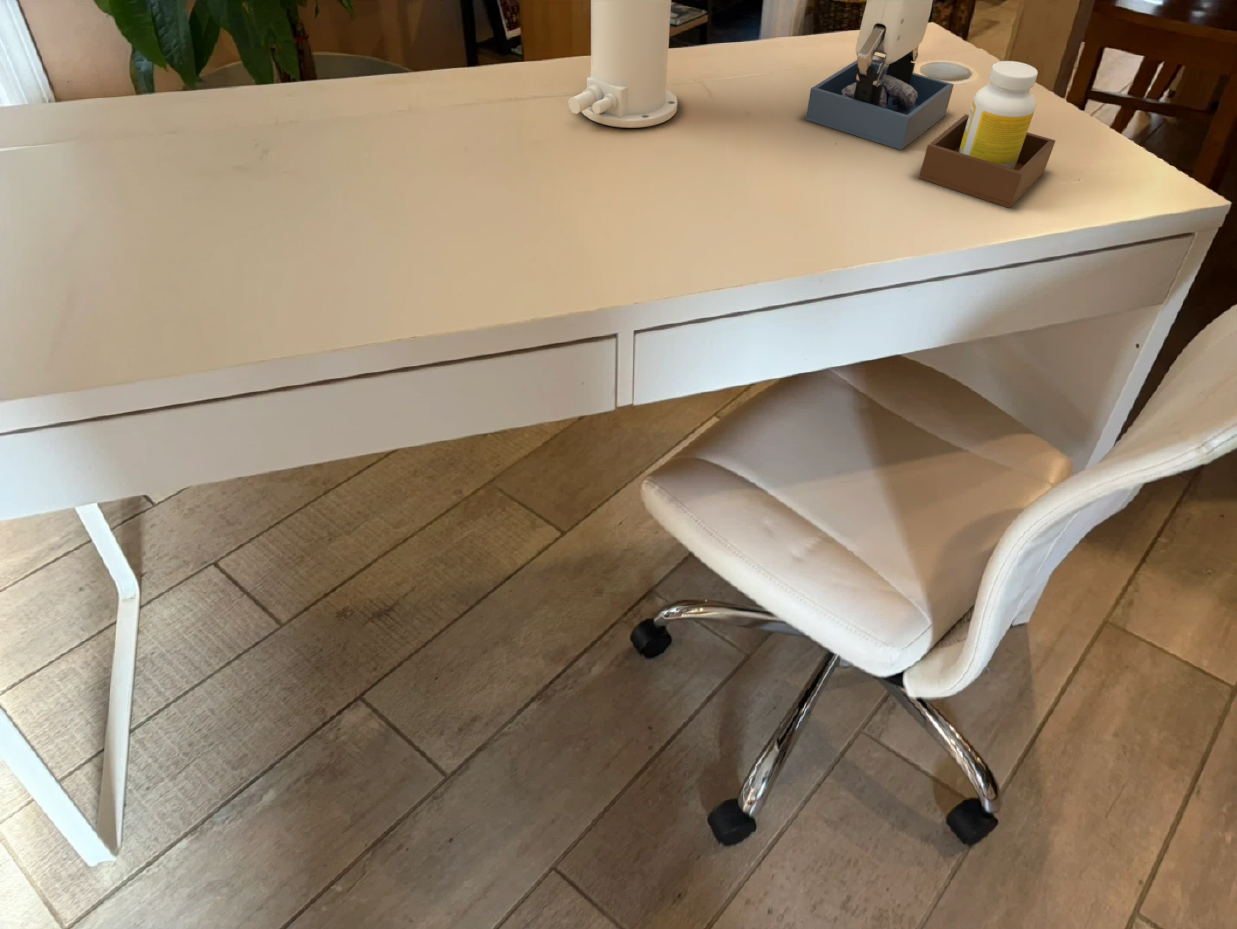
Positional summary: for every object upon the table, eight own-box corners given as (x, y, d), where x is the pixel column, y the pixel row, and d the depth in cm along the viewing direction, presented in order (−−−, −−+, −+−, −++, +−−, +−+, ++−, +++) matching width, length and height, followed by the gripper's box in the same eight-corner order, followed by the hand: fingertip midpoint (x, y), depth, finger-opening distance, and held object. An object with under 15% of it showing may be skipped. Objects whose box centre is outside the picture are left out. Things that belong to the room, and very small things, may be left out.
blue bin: (901, 150, 109) (909, 117, 106) (805, 119, 115) (810, 87, 112) (945, 115, 117) (954, 83, 114) (853, 88, 122) (859, 57, 119)
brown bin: (1009, 208, 99) (1022, 174, 96) (918, 178, 104) (927, 144, 101) (1043, 173, 105) (1055, 140, 103) (955, 146, 110) (965, 113, 107)
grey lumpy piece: (906, 118, 117) (834, 126, 116) (902, 75, 117) (829, 83, 115) (927, 107, 112) (853, 115, 110) (923, 62, 111) (848, 69, 110)
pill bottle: (1018, 185, 102) (1055, 81, 94) (961, 184, 102) (993, 79, 94) (1002, 159, 107) (1036, 58, 99) (947, 157, 107) (977, 56, 99)
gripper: (915, -72, 109) (882, 75, 121) (847, -39, 99) (820, 117, 111) (974, -60, 106) (935, 90, 118) (911, -25, 96) (875, 134, 108)
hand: (879, 102), depth 114 cm, fingers closed on grey lumpy piece, 8 cm apart
